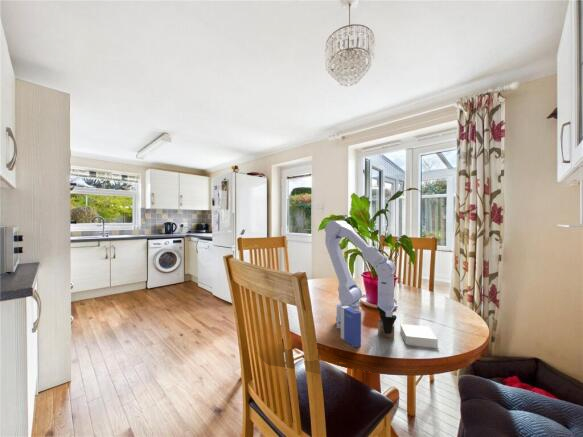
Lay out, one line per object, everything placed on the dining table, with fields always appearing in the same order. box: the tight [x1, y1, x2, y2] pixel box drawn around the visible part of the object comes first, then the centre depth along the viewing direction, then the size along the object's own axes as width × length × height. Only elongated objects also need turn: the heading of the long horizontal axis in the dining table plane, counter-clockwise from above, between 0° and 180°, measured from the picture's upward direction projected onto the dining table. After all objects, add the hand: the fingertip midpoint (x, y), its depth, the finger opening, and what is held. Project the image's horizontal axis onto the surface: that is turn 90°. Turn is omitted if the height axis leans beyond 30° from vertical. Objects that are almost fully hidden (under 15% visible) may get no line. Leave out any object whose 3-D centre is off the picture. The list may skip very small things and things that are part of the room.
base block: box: [399, 323, 439, 349], centre depth 90 cm, size 10×10×3 cm
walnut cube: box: [377, 319, 395, 341], centre depth 92 cm, size 5×5×5 cm
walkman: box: [340, 306, 362, 348], centre depth 88 cm, size 8×3×12 cm, turn 26°
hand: (386, 328), depth 92 cm, fingers open, 7 cm apart
